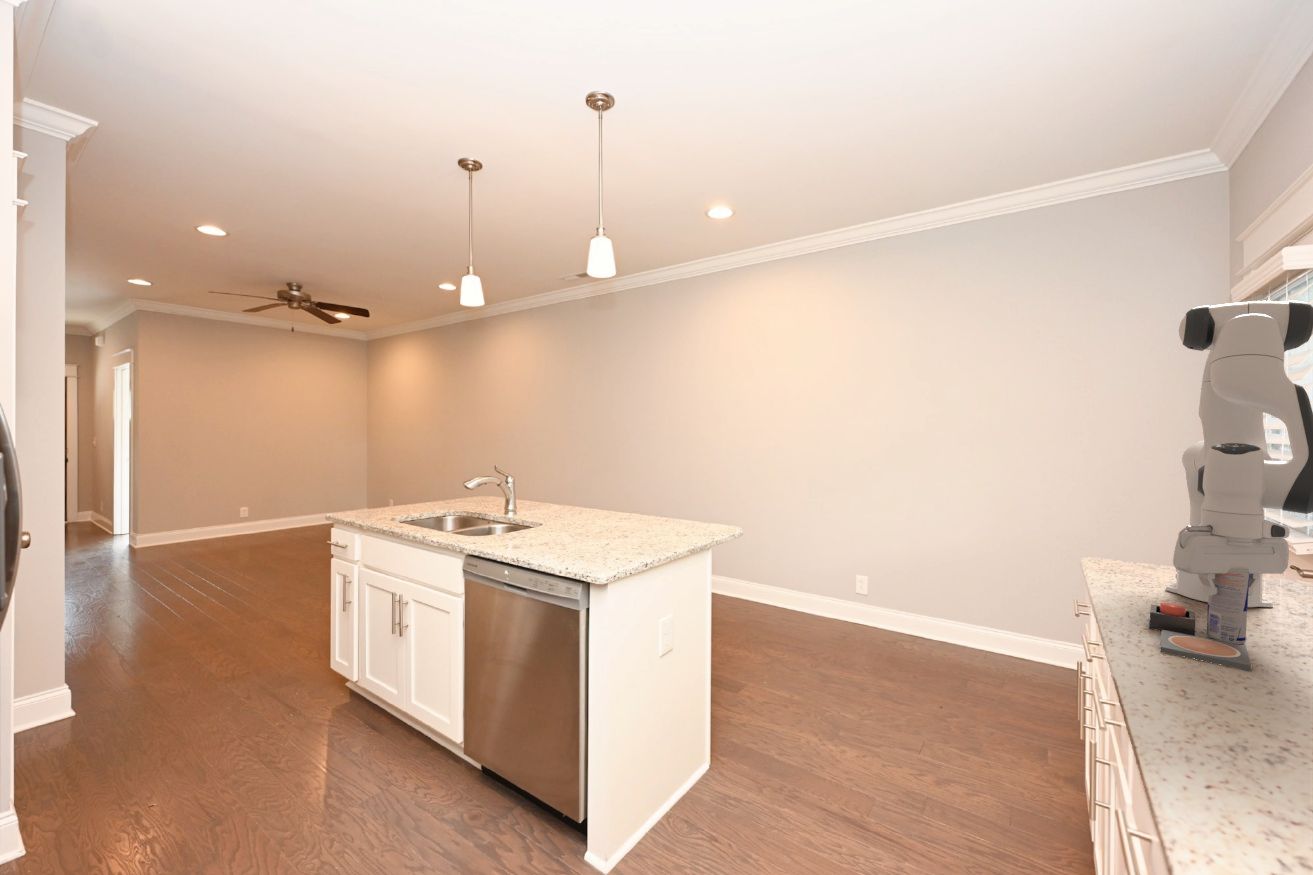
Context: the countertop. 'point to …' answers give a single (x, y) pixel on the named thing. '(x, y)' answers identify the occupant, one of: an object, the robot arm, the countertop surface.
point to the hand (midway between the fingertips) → (1227, 594)
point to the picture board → (1205, 649)
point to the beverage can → (1229, 607)
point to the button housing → (1172, 621)
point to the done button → (1172, 609)
